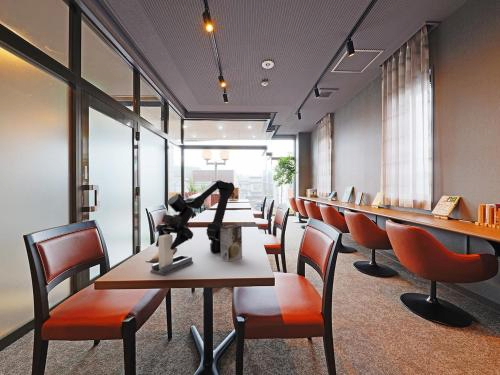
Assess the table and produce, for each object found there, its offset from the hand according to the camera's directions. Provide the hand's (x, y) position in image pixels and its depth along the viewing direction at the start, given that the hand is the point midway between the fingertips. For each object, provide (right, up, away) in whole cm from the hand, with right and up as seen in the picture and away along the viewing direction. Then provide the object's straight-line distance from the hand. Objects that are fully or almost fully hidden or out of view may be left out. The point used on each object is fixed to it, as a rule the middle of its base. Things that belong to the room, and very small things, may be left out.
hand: (163, 247), depth 100 cm
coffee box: (+28, -10, +17) cm, 34 cm away
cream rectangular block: (+1, -9, +1) cm, 9 cm away
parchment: (-8, -10, +23) cm, 27 cm away
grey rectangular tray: (+3, -10, +4) cm, 11 cm away
